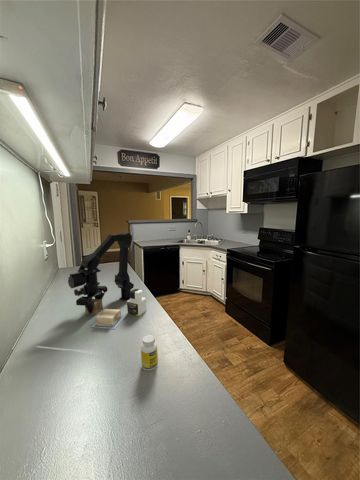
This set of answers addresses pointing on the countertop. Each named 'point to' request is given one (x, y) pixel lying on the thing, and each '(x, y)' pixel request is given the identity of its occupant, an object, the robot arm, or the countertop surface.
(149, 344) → the supplement bottle
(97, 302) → the walnut cube
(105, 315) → the maple slab
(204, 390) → the countertop surface
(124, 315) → the blueprint board
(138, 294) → the medicine bottle
